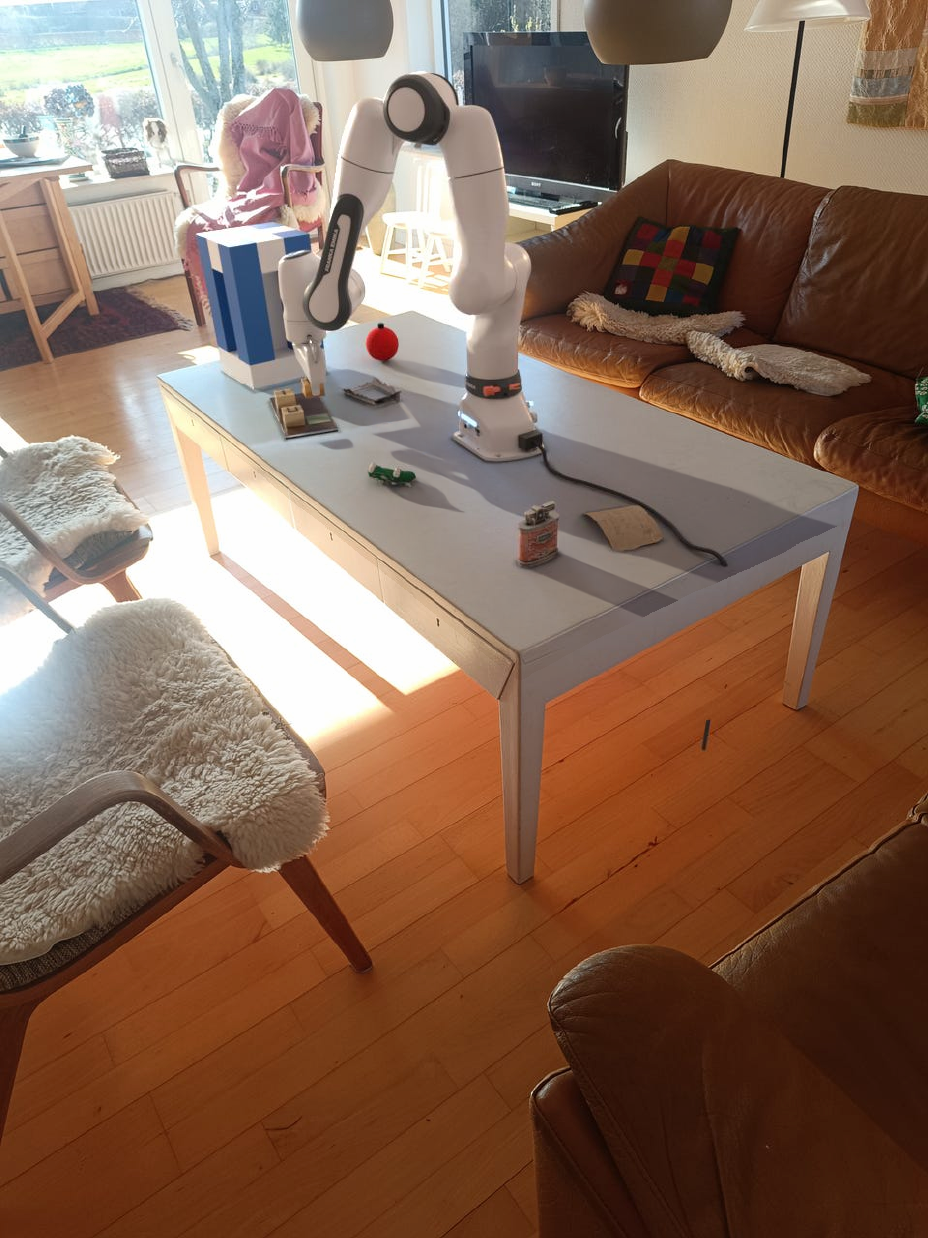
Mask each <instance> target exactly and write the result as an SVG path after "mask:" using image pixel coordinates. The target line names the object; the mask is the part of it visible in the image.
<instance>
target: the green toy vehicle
mask: <svg viewBox="0 0 928 1238" xmlns="http://www.w3.org/2000/svg"><path fill="white" fill-rule="evenodd" d="M367 474H368V477H369V478H372V479H377V480H378V483H380V484H384V482H386V481H390V484H391V485H393V486H397V484H399V483H400V484H401V483H403V484H404V483H410V482H412V481H414V480H415V479H417V476H416V474H415V472H414V471H412V470H402V469H401V468H400V467H399V466H395V468H394V469H392V468H386V467H385V468H384V467H382V466H380V465H377V464H376V462H371V463H370V465H369V467H368V469H367Z"/></svg>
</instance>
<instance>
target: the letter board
mask: <svg viewBox="0 0 928 1238" xmlns="http://www.w3.org/2000/svg"><path fill="white" fill-rule="evenodd" d="M268 400H269V402H270V404H271V406H272V408H273V411H274V414H275V416H276V418H277V420H278V422H279V425H280V427H281V429H282V431H283V434H284V436H285V441H288V440H295V439H300V438H301V439H302V438H307V437H315V436H320V435H327V434H333V433H338V432H339V430H338V426H337V424H336V423H335V421H334V419H333V417H332V415H331V414H330V413H329V411H328V409H327V407H326V405H325V403H324V402H323V400H322V398H321V397H314V398H307V399H306V397H305V395H304V394H303V392H300V393H294V391H293V389H292V388H286V389H285V388H284V389H277V390H273V396H272V397H268Z"/></svg>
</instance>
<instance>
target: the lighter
mask: <svg viewBox="0 0 928 1238" xmlns="http://www.w3.org/2000/svg"><path fill="white" fill-rule="evenodd" d="M555 510H556V502H554V501H553V500H551V501H548V502H545V503H543V504H541V505H540V506H539V505H537V504H534V505H532V507H531V508H530V509H529V510H526V511H524V520H522V521H520V522H519V523H518V524H517V529H518V532H519V533H518V534H519V535H518V558H517V565H518V566H519V567H521V568H530V567H531V568H532V567H535V566H538V565H540V564H543V563H546V562H547V561H550V560H552V559H553V558H555V557H557V556H558V553H559V548H558V532H559V531H558V530H559V527H558V526H559V520H560V514H559V513H558V512H556V511H555Z"/></svg>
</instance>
